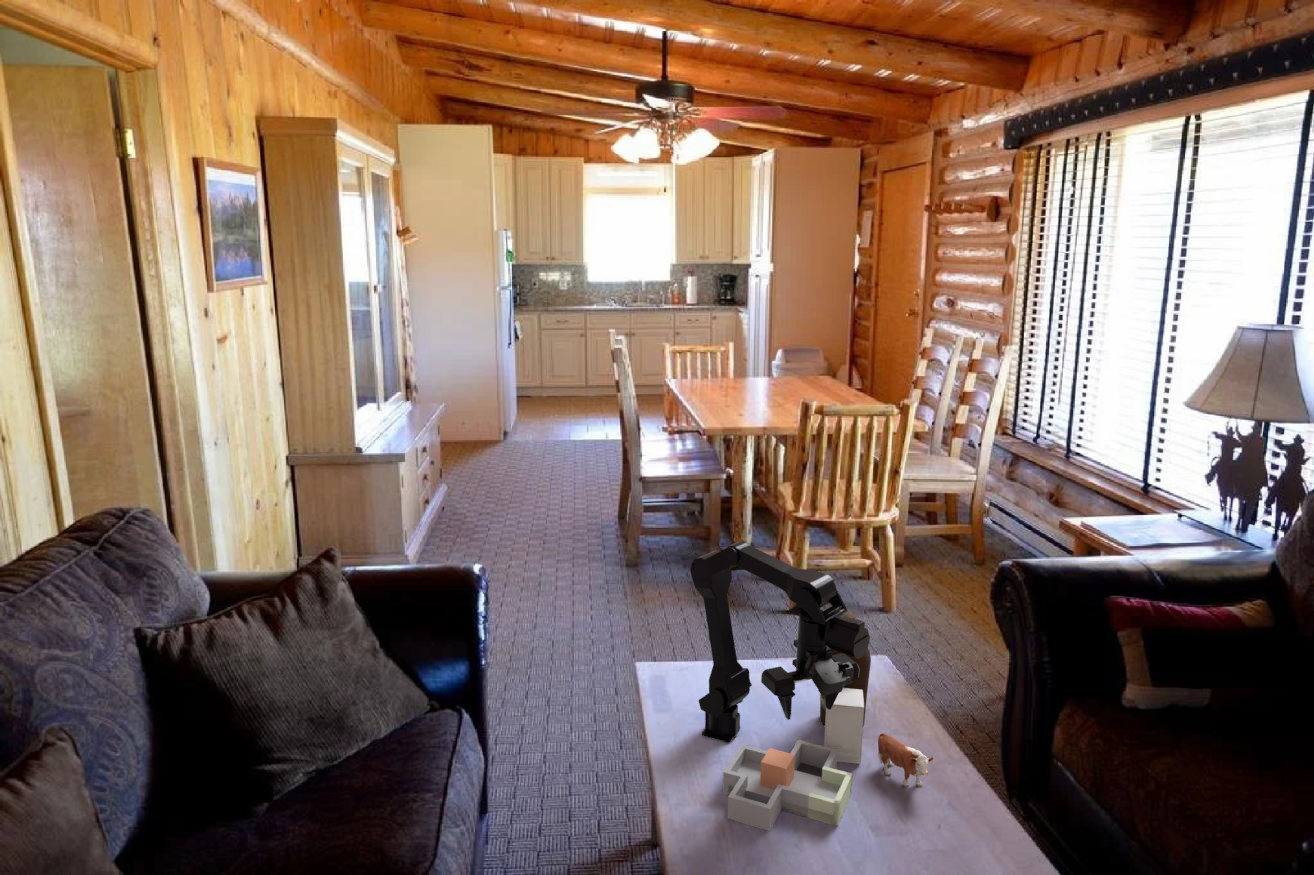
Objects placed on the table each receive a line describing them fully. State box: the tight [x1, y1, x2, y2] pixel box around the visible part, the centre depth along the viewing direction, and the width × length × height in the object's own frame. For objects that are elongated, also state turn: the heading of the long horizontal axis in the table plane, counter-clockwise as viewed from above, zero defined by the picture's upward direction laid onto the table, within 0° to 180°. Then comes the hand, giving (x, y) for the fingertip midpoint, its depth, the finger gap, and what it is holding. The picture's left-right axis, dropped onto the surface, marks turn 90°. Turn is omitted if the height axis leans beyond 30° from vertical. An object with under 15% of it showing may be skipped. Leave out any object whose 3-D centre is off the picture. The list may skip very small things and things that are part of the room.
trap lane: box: [722, 739, 853, 832], centre depth 165 cm, size 22×23×4 cm
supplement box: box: [823, 688, 864, 765], centre depth 177 cm, size 7×7×13 cm
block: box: [760, 747, 795, 790], centre depth 165 cm, size 5×5×5 cm
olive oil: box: [819, 611, 872, 728], centre depth 186 cm, size 11×11×25 cm
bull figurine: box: [877, 732, 934, 788], centre depth 168 cm, size 4×13×8 cm, turn 27°
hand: (808, 713), depth 168 cm, fingers open, 9 cm apart
